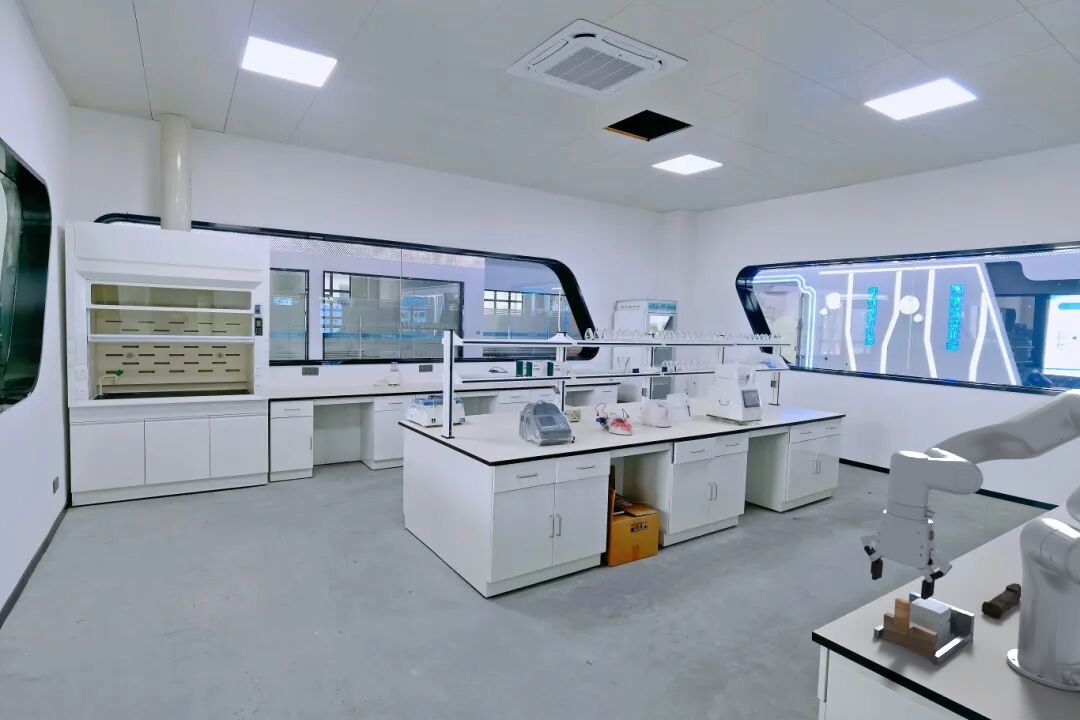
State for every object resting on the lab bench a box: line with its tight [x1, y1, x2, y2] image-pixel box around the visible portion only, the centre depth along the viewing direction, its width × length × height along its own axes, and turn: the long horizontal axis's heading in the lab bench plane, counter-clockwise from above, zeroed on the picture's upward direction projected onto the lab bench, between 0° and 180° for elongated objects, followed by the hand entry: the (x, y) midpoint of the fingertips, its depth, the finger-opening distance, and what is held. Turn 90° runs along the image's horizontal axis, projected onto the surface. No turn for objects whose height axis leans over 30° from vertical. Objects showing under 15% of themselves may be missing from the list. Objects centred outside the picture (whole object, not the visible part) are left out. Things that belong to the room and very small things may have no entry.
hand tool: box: [981, 582, 1022, 620], centre depth 139 cm, size 19×4×5 cm, turn 121°
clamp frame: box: [873, 591, 976, 667], centre depth 125 cm, size 18×13×6 cm
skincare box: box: [910, 597, 951, 645], centre depth 126 cm, size 6×6×7 cm
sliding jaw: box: [882, 597, 938, 661], centre depth 119 cm, size 6×10×12 cm, turn 33°
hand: (900, 587), depth 118 cm, fingers open, 9 cm apart
